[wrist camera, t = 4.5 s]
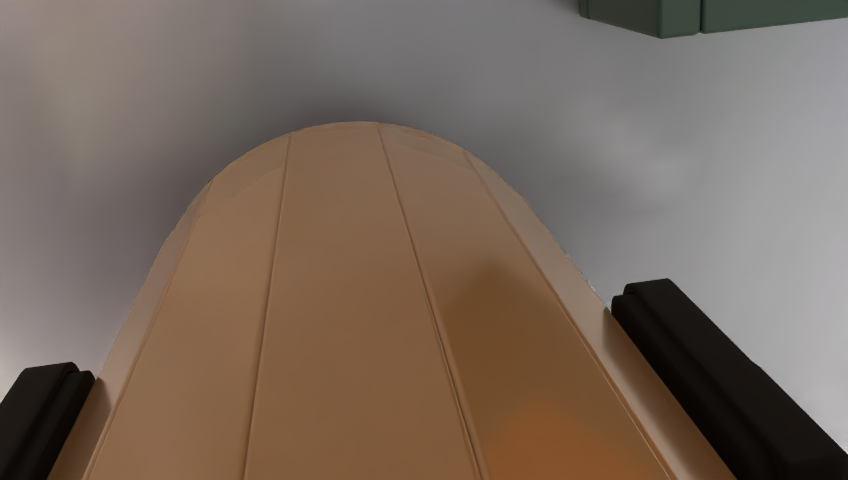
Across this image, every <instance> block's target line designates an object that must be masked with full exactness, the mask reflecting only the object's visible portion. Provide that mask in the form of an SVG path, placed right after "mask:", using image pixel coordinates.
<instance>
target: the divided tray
mask: <svg viewBox="0 0 848 480" xmlns="http://www.w3.org/2000/svg"><path fill="white" fill-rule="evenodd" d="M579 13H580V16H581V17H584V18H588V19H592V20H596V21H599V22H603V23H607V24H610V25H614V26H617V27H621V28H624V29H628V30H632V31H635V32H639V33H642V34H646V35H649V36H653V37H657V38H660V39H664V38H673V37H682V36H691V35H695V34H697V33H703V34H708V33H717V32H726V31H734V30H743V29H752V28H760V27H769V26H778V25H787V24H795V23H804V22H813V21H822V20H830V19H839V18H848V0H579Z"/></svg>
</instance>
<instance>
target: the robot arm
mask: <svg viewBox="0 0 848 480" xmlns="http://www.w3.org/2000/svg"><path fill="white" fill-rule="evenodd" d="M611 314H612V315H613V317H614V318H615V319H616V321H617V322H618V323H619V324H620V326H621V327H622V328H623V330H624V331H625V332H626V334H627V335H628V336H629V338H630V339H631V340H632V342H633V343H634V344H635V346H636V347H637V348H638V350H639V351H640V352H641V354H642V355H643V356H644V358H645V359H646V360H647V361H648V363H649V364H650V365H651V367H652V368H653V369H654V371H655V372H656V373H657V375H658V376H659V377H660V379H661V380H662V381H663V383H664V384H665V385H666V387H667V388H668V389H669V391H670V392H671V393H672V394H673V396H674V397H675V398H676V400H677V401H678V402H679V404H680V405H681V406H682V408H683V409H684V410H685V412H686V413H687V414H688V416H689V417H690V418H691V420H692V421H693V422H694V424H695V425H696V426H697V427H698V429H699V430H700V431H701V433H702V434H703V435H704V437H705V438H706V439H707V441H708V442H709V443H710V445H711V446H712V447H713V449H714V450H715V451H716V453H717V454H718V455H719V457H720V458H721V459H722V461H723V462H724V463H725V464H726V466H727V467H728V468H729V470H730V471H731V472H732V474H733V475H734V476H735V478H736V479H737V480H848V454H847V453H846V452H845V451H844V450H843V449H842V448H841V447H840V446H839V445H838V444H837V443H836V442H835V441H834V440H833V439H832V438H831V437H830V436H829V435H828V434H827V433H826V432H825V431H824V430H823V429H822V428H821V427H820V426H819V425H818V424H817V423H816V422H815V421H814V420H813V419H812V418H811V417H810V416H809V415H808V414H807V413H806V412H805V411H804V410H803V409H802V408H801V407H800V406H799V405H798V404H797V403H796V402H795V401H794V400H793V399H792V398H791V397H790V396H789V395H788V394H787V393H786V392H785V391H784V390H783V389H782V388H781V387H780V386H779V385H778V384H777V383H776V382H775V381H774V380H773V379H772V378H771V377H770V376H769V375H768V374H767V373H766V372H764V371H763V370H762V369H761V368H760V367H759V366H758V365H756V364H755V363H754V362H752V361H751V360H750V359H749V358H748V357H747V356H746V355H745V354H744V353H743V352H742V351H741V350H740V349H739V348H738V347H737V346H736V345H735V344H734V343H733V342H732V341H731V340H730V339H729V338H728V337H727V336H726V335H725V334H724V333H723V332H722V331H721V330H720V329H719V328H718V327H717V326H716V325H715V324H714V323H713V322H712V321H711V320H710V319H709V318H708V317H707V316H706V315H705V314H704V313H703V312H702V311H701V310H700V309H699V308H698V307H697V306H696V305H695V304H694V303H693V302H692V301H691V300H690V299H689V298H688V297H687V296H686V295H685V294H684V293H683V292H682V291H681V290H680V289H679V288H678V287H677V286H676V285H675V284H674V283H673V282H672V281H671V280H670V279H668V278H666V279H659V280H652V281H645V282H638V283H630V284H627V285H626V286H625V288H624V292H623V295H619V296H614V297H613V299H612V305H611ZM95 381H96V380H95V377H94V375H93V374H92V372H90V371H89V370H87V371H79V369H78V367H77V366H76V364H74V363H73V362H66V363H59V364H52V365H45V366H38V367H31V368H25V369H24V370H23V371H22V372H21V374H20V375H19V377H18V378H17V380H16V381H15V383H14V384H13V386H12V387H11V389H10V390H9V392H8V393H7V395H6V396H5V398H4V399H3V401H2V402H1V404H0V480H47V478H48V476H49V474H50V472H51V470H52V468H53V466H54V464H55V462H56V460H57V458H58V456H59V454H60V452H61V450H62V448H63V446H64V444H65V442H66V440H67V438H68V436H69V434H70V432H71V430H72V428H73V426H74V423H75V421H76V419H77V417H78V415H79V413H80V411H81V409H82V407H83V405H84V403H85V401H86V399H87V397H88V395H89V393H90V391H91V389H92V387H93V385H94V383H95Z"/></svg>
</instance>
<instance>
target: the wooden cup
mask: <svg viewBox="0 0 848 480" xmlns="http://www.w3.org/2000/svg"><path fill="white" fill-rule="evenodd" d="M47 480H737V479H736V478H735V476H734V475H733V474H732V472H731V471H730V470H729V468H728V467H727V466H726V464H725V463H724V462H723V461H722V459H721V458H720V457H719V455H718V454H717V453H716V451H715V450H714V449H713V447H712V446H711V445H710V443H709V442H708V441H707V439H706V438H705V437H704V435H703V434H702V433H701V431H700V430H699V429H698V427H697V426H696V425H695V424H694V422H693V421H692V420H691V418H690V417H689V416H688V414H687V413H686V412H685V410H684V409H683V408H682V406H681V405H680V404H679V402H678V401H677V400H676V398H675V397H674V396H673V394H672V393H671V392H670V391H669V389H668V388H667V387H666V385H665V384H664V383H663V381H662V380H661V379H660V377H659V376H658V375H657V373H656V372H655V371H654V369H653V368H652V367H651V365H650V364H649V363H648V361H647V360H646V359H645V358H644V356H643V355H642V354H641V352H640V351H639V350H638V348H637V347H636V346H635V344H634V343H633V342H632V340H631V339H630V338H629V336H628V335H627V334H626V332H625V331H624V330H623V328H622V327H621V326H620V324H619V323H618V322H617V321H616V319H615V318H614V317H613V315H612V314H611V313H610V311H609V310H608V309H607V307H606V306H605V305H604V303H603V302H602V301H601V299H600V298H599V297H598V295H597V294H596V293H595V291H594V290H593V289H592V288H591V286H590V285H589V284H588V282H587V281H586V280H585V278H584V277H583V276H582V274H581V273H580V272H579V270H578V269H577V268H576V266H575V265H574V264H573V262H572V261H571V260H570V258H569V257H568V256H567V254H566V253H565V252H564V251H563V249H562V248H561V247H560V245H559V244H558V243H557V241H556V240H555V239H554V237H553V236H552V235H551V233H550V232H549V231H548V229H547V228H546V227H545V225H544V224H543V223H542V221H541V220H540V219H539V218H538V216H537V215H536V214H535V212H534V211H533V210H532V208H531V207H530V206H529V204H528V203H527V202H526V200H525V199H524V198H523V197H522V195H520V194H519V193H518V192H516V191H515V190H514V189H513V188H511V187H510V186H509V185H508V184H507V182H506V181H505V180H504V179H503V178H501V177H500V176H499V175H498V174H497V173H496V172H495V171H494V170H493V169H492V168H491V167H490V166H488V165H487V164H486V163H485V162H483V161H482V160H480V159H479V158H477V157H476V156H474V155H473V154H472V153H470V152H469V151H467V150H466V149H464V148H462V147H460V146H458V145H456V144H454V143H452V142H450V141H448V140H446V139H444V138H442V137H439V136H436V135H433V134H430V133H428V132H425V131H422V130H419V129H416V128H411V127H406V126H401V125H396V124H392V123H382V122H368V121H353V122H334V123H328V124H323V125H317V126H312V127H307V128H303V129H300V130H297V131H294V132H291V133H288V134H284V135H281V136H278V137H276V138H274V139H272V140H270V141H268V142H266V143H264V144H261V145H259V146H257V147H255V148H253V149H251V150H250V151H248V152H247V153H245V154H244V155H242V156H241V157H239V158H238V159H236V160H235V161H233V162H231V163H230V164H229V165H228V166H226V167H225V168H224V169H223V170H222V171H221V172H219V173H218V174H217V175H216V176H215V177H214V178H213V179H211V180H210V181H209V182H208V183H207V184H206V186H205V187H204V188H203V189H202V190H201V191H200V192H199V194H198V195H197V196H196V197H195V198H194V199H193V200H192V202H191V203H190V205H189V206H188V208H187V209H186V211H185V212H184V214H183V215H182V217H181V219H180V220H179V222H178V223H177V225H176V227H175V228H174V229H173V231H172V232H171V233H170V235H169V236H168V237H167V239H166V240H165V241H164V243H163V245H162V247H161V249H160V251H159V253H158V255H157V257H156V259H155V261H154V263H153V265H152V267H151V269H150V271H149V273H148V275H147V277H146V279H145V281H144V283H143V285H142V288H141V290H140V292H139V294H138V296H137V298H136V300H135V302H134V304H133V306H132V308H131V310H130V312H129V314H128V316H127V318H126V320H125V322H124V324H123V326H122V328H121V330H120V332H119V334H118V336H117V338H116V340H115V342H114V344H113V346H112V348H111V350H110V352H109V354H108V357H107V359H106V361H105V363H104V365H103V367H102V369H101V371H100V373H99V375H98V377H97V379H96V381H95V383H94V385H93V387H92V389H91V391H90V393H89V395H88V397H87V399H86V401H85V403H84V405H83V407H82V409H81V411H80V413H79V415H78V417H77V419H76V421H75V423H74V426H73V428H72V430H71V432H70V434H69V436H68V438H67V440H66V442H65V444H64V446H63V448H62V450H61V452H60V454H59V456H58V458H57V460H56V462H55V464H54V466H53V468H52V470H51V472H50V474H49V476H48V478H47Z"/></svg>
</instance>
